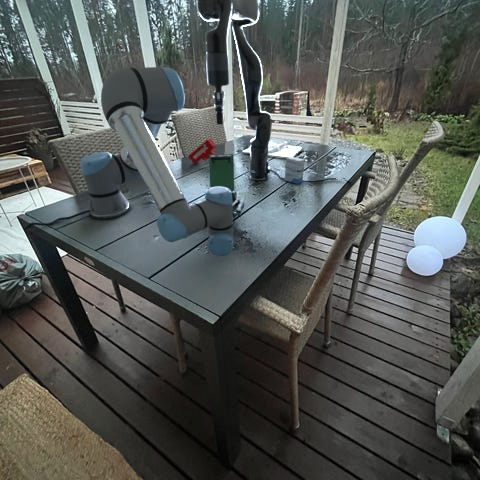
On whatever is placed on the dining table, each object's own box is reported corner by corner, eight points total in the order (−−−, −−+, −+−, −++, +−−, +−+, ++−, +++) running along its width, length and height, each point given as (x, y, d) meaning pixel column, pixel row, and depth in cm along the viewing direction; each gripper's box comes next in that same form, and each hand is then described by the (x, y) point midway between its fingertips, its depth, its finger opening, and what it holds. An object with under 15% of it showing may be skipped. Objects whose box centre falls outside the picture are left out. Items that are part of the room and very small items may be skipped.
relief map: (291, 159, 177) (291, 151, 174) (243, 153, 190) (243, 145, 187) (302, 149, 197) (303, 142, 194) (258, 144, 211) (258, 137, 208)
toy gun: (225, 158, 166) (210, 137, 162) (223, 160, 163) (207, 139, 159) (205, 174, 176) (191, 154, 172) (202, 176, 173) (188, 156, 169)
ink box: (302, 181, 142) (305, 159, 136) (297, 184, 139) (300, 161, 133) (289, 177, 147) (291, 156, 141) (284, 180, 144) (285, 158, 138)
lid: (209, 155, 105) (207, 149, 97) (233, 154, 105) (233, 148, 97) (210, 191, 106) (208, 188, 98) (234, 191, 106) (234, 188, 98)
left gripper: (190, 232, 93) (196, 204, 112) (254, 230, 94) (249, 203, 113) (187, 213, 89) (194, 187, 108) (254, 211, 90) (249, 186, 109)
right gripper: (208, 69, 98) (211, 119, 107) (205, 69, 86) (209, 126, 95) (228, 69, 98) (230, 119, 107) (229, 69, 86) (230, 126, 95)
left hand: (222, 195), depth 111 cm, fingers closed on chest, 9 cm apart
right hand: (220, 122), depth 101 cm, fingers open, 6 cm apart
